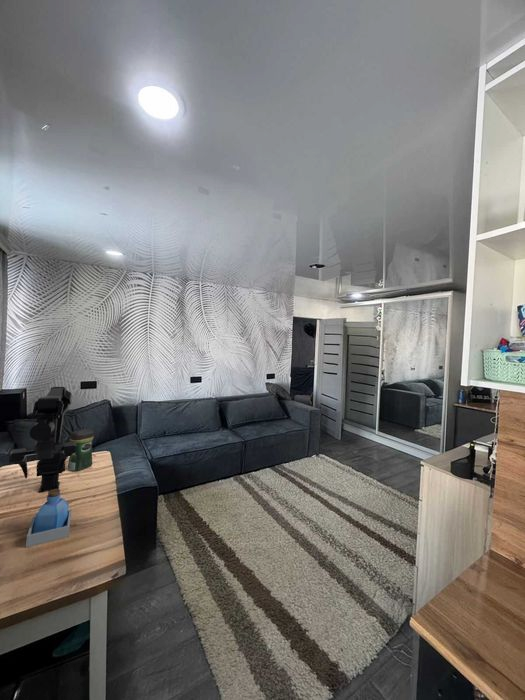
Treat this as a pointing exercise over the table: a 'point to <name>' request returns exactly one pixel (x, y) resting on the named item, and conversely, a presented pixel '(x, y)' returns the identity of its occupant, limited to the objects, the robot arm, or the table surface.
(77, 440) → the coffee jar
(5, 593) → the table surface
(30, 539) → the tray
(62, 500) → the perfume bottle
